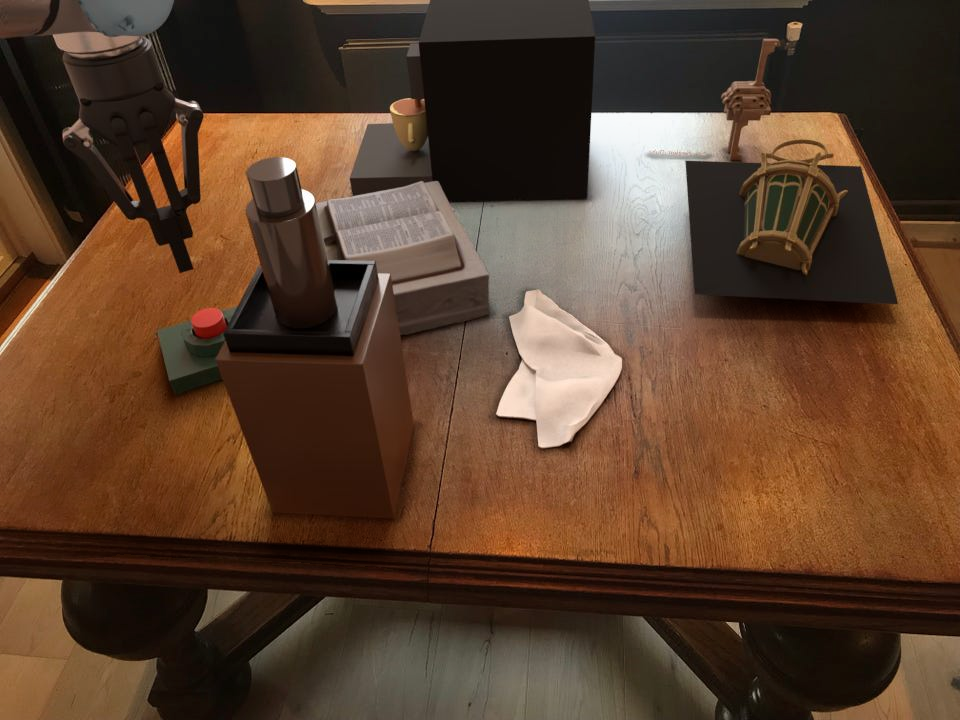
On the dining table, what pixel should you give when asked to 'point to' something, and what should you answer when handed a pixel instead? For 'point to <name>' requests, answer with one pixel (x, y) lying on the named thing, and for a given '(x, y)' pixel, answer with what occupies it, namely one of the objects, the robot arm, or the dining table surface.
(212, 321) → the button
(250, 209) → the metal bottle
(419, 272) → the bible
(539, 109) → the coffee maker
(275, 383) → the brown pedestal
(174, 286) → the dining table surface
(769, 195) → the lantern
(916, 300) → the dining table surface
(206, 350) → the base
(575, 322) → the cloth
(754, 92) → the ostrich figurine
